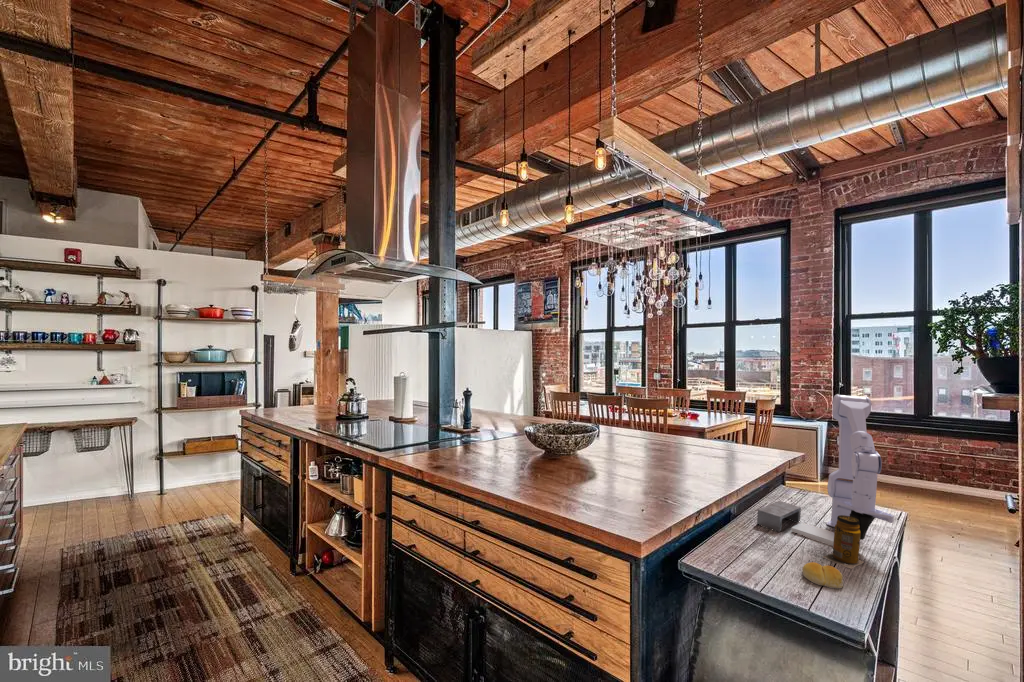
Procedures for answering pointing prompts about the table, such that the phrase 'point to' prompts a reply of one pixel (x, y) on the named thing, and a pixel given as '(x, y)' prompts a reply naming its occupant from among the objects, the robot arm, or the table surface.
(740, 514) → the table surface
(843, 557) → the condiment
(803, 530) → the tile
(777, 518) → the grey c-shaped bracket
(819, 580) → the bread roll
